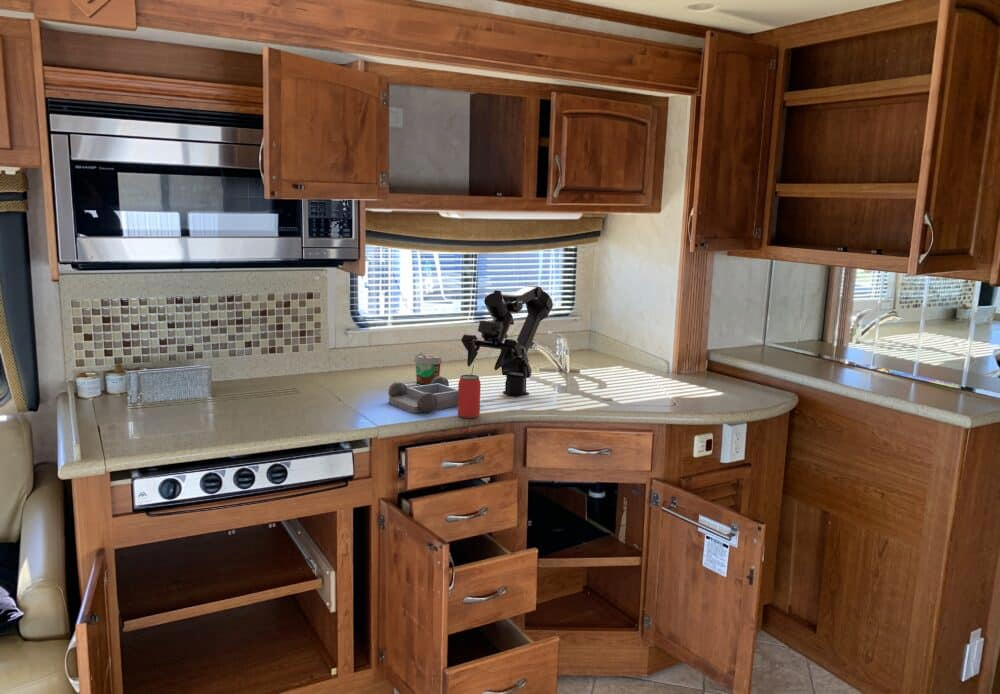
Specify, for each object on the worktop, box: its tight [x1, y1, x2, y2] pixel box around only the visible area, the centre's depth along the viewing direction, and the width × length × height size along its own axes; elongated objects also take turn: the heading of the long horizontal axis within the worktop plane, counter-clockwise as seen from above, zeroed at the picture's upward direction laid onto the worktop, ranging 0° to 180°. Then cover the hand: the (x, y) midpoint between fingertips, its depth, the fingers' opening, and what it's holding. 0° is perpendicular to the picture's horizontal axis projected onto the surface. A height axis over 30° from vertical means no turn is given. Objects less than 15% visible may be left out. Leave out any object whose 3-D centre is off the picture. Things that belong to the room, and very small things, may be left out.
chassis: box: [387, 375, 458, 414], centre depth 247 cm, size 24×18×6 cm
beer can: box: [457, 374, 482, 419], centre depth 233 cm, size 7×7×12 cm
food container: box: [413, 352, 443, 386], centre depth 271 cm, size 12×6×10 cm, turn 40°
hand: (481, 367), depth 238 cm, fingers open, 9 cm apart
